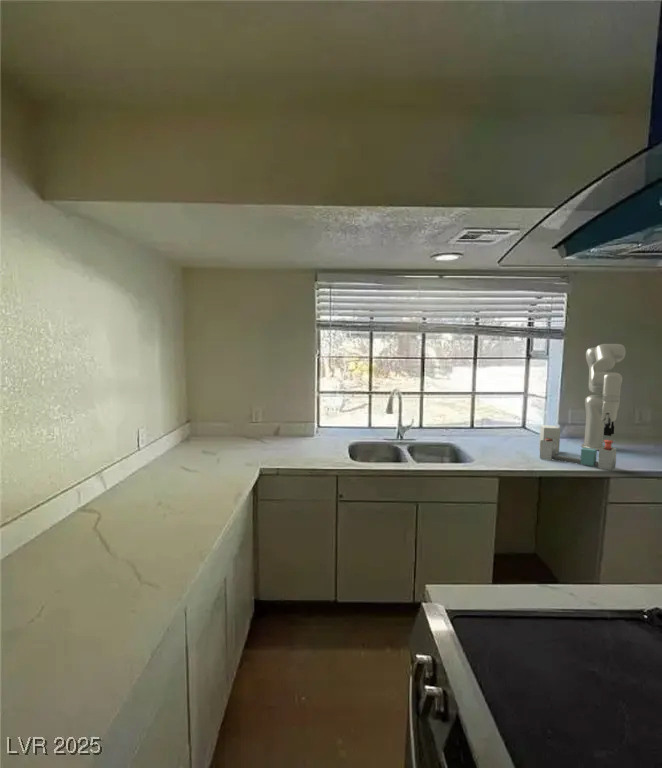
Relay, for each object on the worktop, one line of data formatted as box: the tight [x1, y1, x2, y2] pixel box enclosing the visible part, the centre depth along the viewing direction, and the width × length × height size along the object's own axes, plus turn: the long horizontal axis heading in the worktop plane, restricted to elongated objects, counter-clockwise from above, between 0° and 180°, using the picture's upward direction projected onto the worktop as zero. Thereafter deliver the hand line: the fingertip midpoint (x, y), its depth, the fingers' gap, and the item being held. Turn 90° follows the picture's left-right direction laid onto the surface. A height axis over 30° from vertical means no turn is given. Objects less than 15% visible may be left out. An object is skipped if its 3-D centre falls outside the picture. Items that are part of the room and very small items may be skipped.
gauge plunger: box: [603, 439, 614, 450], centre depth 235 cm, size 4×4×5 cm
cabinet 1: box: [539, 438, 557, 461], centre depth 255 cm, size 8×6×11 cm
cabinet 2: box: [597, 445, 617, 471], centre depth 236 cm, size 8×6×10 cm
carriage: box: [580, 447, 598, 467], centre depth 242 cm, size 5×6×8 cm
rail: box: [553, 454, 598, 468], centre depth 246 cm, size 3×22×2 cm, turn 47°
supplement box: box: [538, 424, 561, 455], centre depth 268 cm, size 9×9×15 cm
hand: (608, 434), depth 235 cm, fingers open, 4 cm apart
